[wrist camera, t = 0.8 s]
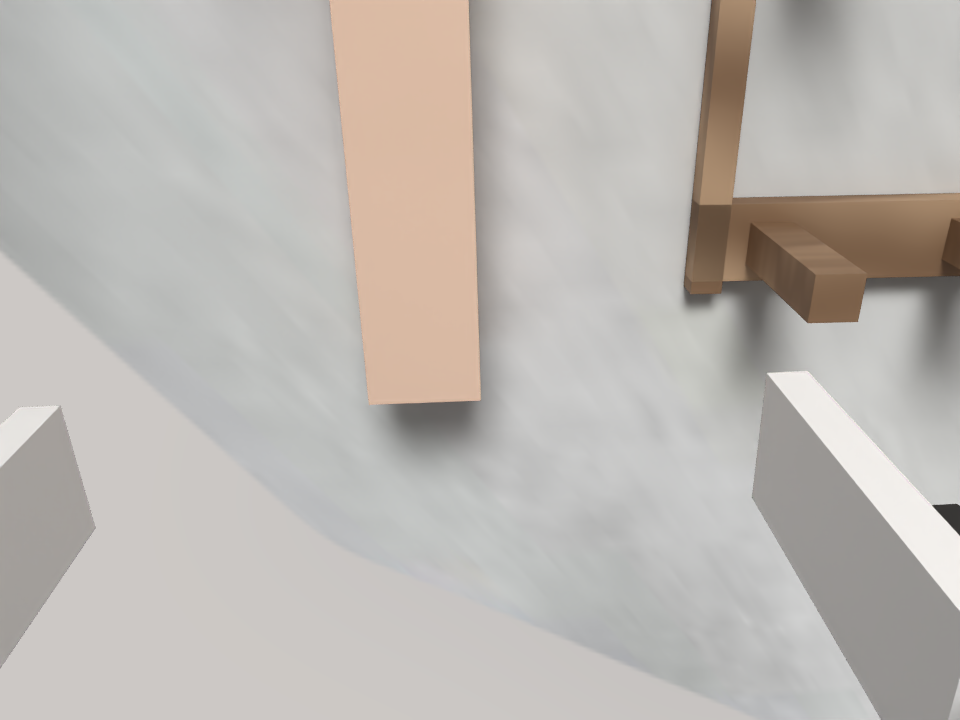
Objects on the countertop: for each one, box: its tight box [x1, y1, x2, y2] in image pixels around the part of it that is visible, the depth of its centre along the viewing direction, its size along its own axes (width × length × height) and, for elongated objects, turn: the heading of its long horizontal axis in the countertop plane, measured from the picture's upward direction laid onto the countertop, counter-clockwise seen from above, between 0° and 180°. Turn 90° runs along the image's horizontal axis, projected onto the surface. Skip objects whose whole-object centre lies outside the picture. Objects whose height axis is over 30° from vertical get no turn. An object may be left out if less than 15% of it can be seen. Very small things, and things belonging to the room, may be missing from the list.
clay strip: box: [330, 0, 481, 405], centre depth 27 cm, size 18×4×5 cm, turn 2°
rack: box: [684, 0, 960, 323], centre depth 26 cm, size 17×13×7 cm
